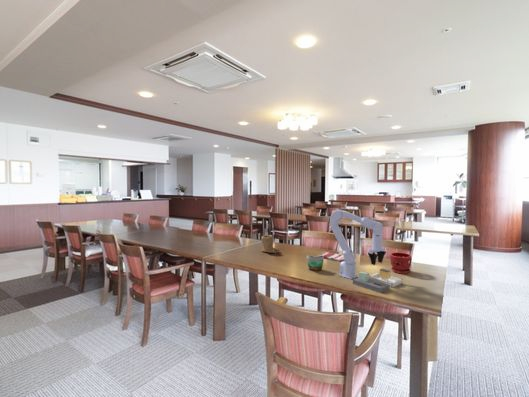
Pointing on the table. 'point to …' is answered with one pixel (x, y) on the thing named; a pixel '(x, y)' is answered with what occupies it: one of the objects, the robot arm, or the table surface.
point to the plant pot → (400, 262)
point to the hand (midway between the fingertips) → (376, 263)
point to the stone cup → (268, 244)
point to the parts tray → (391, 282)
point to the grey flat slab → (372, 285)
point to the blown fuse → (384, 274)
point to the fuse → (363, 276)
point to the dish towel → (333, 256)
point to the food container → (315, 263)
